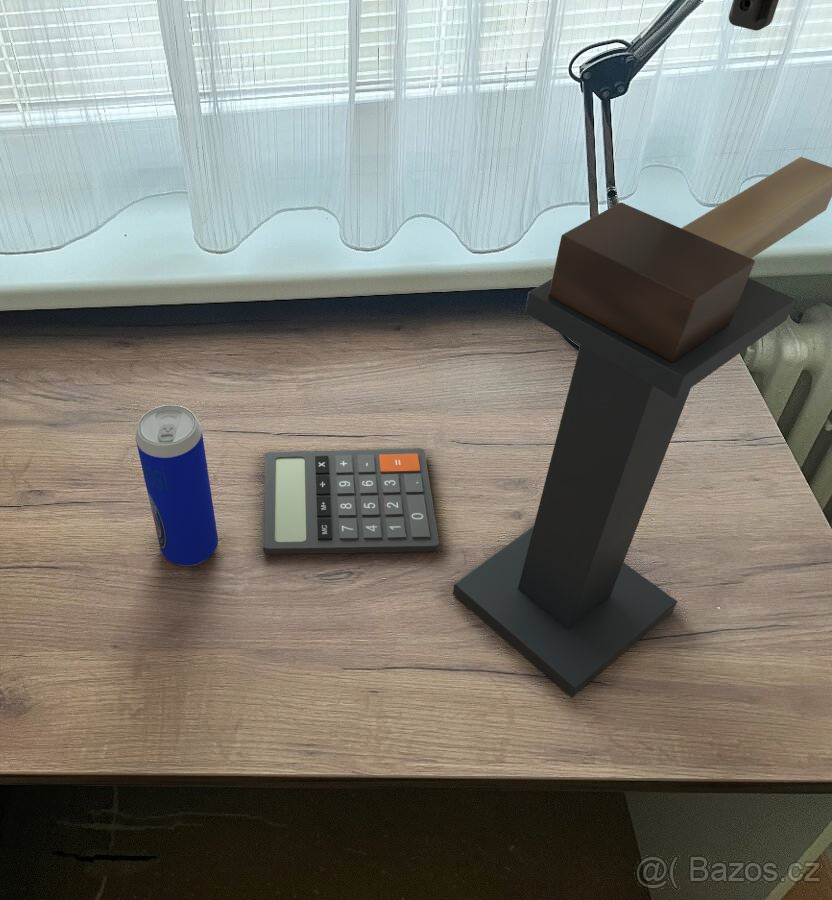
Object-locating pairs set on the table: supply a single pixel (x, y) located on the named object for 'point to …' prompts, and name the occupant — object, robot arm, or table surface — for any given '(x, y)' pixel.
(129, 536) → the table surface
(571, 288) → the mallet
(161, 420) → the beverage can
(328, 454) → the calculator
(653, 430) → the stand
